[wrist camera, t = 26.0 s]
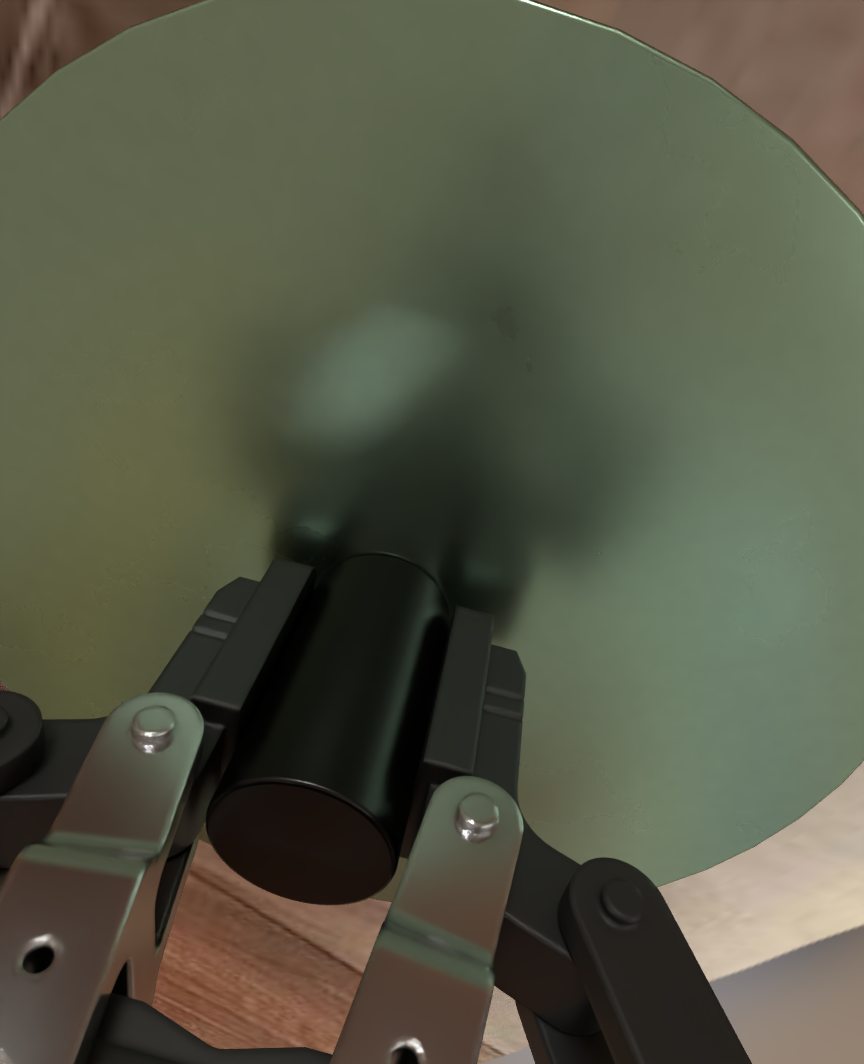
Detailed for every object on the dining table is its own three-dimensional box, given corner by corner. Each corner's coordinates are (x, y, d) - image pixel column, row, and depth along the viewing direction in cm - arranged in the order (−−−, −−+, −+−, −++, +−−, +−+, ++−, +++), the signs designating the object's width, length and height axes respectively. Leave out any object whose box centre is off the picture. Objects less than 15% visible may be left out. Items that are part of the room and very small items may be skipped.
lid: (1251, 183, 9) (2104, 328, 4) (675, 941, 20) (711, 1251, 15) (-173, -171, 10) (-1017, -439, 5) (0, 754, 20) (-198, 992, 15)
